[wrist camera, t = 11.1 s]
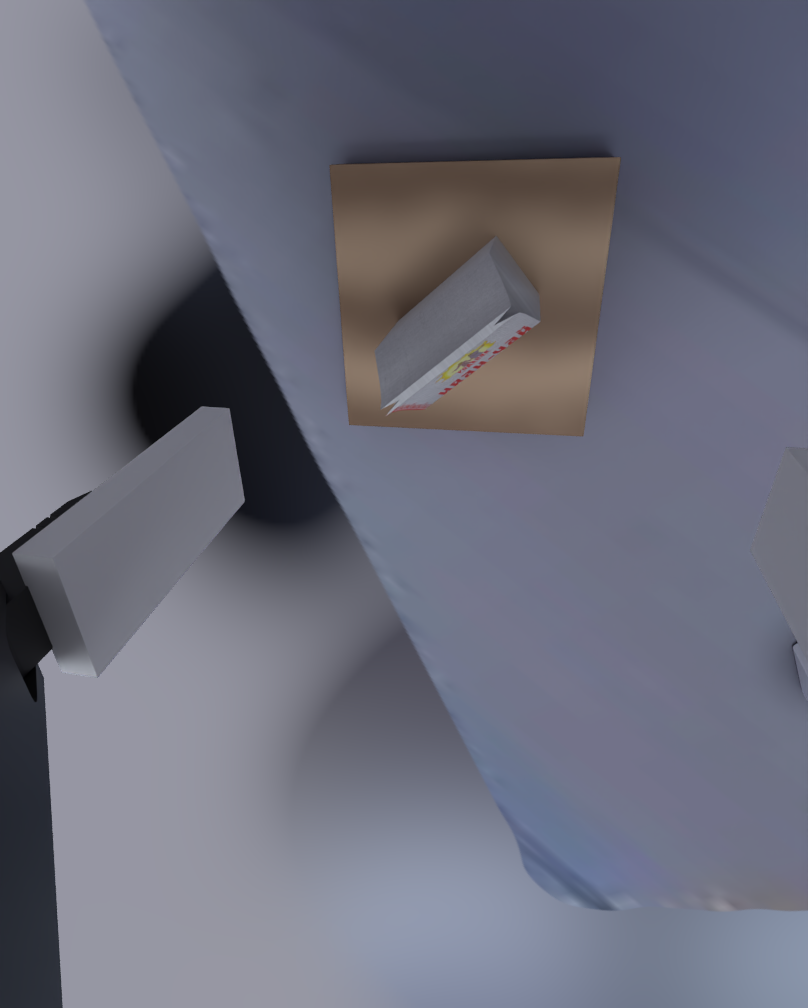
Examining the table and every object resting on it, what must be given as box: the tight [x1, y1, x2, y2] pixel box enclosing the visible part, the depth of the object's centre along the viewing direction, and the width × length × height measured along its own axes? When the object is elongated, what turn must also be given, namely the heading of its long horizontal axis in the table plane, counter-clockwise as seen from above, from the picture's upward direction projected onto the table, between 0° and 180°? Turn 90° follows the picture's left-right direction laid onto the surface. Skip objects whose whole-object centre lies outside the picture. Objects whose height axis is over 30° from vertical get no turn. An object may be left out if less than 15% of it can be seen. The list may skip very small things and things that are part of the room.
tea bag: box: [375, 236, 541, 416], centre depth 28 cm, size 4×7×10 cm, turn 131°
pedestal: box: [330, 157, 621, 436], centre depth 34 cm, size 14×14×3 cm
